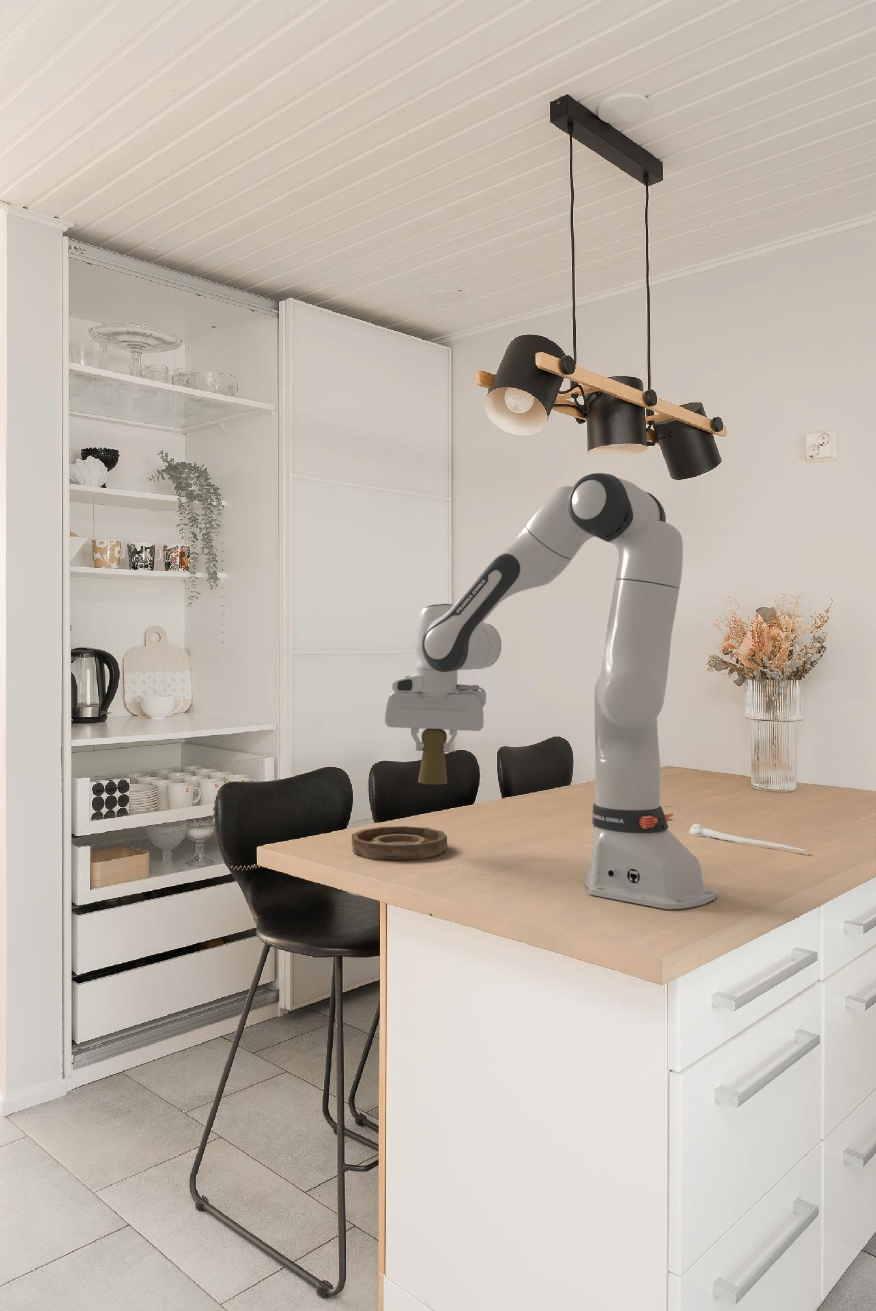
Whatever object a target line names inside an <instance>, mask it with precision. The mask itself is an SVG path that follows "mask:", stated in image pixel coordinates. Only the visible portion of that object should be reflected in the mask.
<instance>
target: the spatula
mask: <svg viewBox="0 0 876 1311" xmlns="http://www.w3.org/2000/svg"><path fill="white" fill-rule="evenodd" d="M689 834H696V835H704V836H711V837H714V838H721V839H725V840H734V841H737V842H748V843H753V844H763V845H768V846H774V847H784V848H788V849H797V850H800V851H807V850H806V849H803V848H799V847H796V846H793V845H792V846H791V845H787V844H783V843H777V842H771V841H767V840H760V839H759V840H758V839H754V838H747V837H742V836H737V835H732V834H727V833H723V832H720V831H717V830H712V829H710V828H707V827H705V826H704V825H702V824H700V823H694V824H693V825H692V826H691V828H690V829H689ZM689 834H688V835H689ZM704 836H703V837H704Z"/></svg>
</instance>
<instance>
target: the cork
mask: <svg viewBox="0 0 876 1311" xmlns="http://www.w3.org/2000/svg"><path fill="white" fill-rule="evenodd" d="M447 735H448V734H447V732H446V731H445V730H444V729H423V731H422V733H421V741H422V742H423V743H424V745H423V746H424V748H423V751H422V755H421V762H420V768H419V772H418V774H419V775H418V780H417V782H418V783H419V784H424V785H445V784H448V775H447V774H448V772H447V763H446V752H443V749H444V747H443V744H444V743H447V740H448V736H447Z"/></svg>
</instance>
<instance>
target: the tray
mask: <svg viewBox="0 0 876 1311" xmlns="http://www.w3.org/2000/svg"><path fill="white" fill-rule="evenodd" d="M351 846H352V853H353V855H356V856H358V857H361V858H365V859H369V860H375V861H376V860H377V861H391V862H394V861H395V862H396V861H398V862H403V861H404V862H405V861H418V860H419V861H421V860H426V859H433V858H436V857H439V856H441V855H443V854H444V853H445V852H446V851H447V850H446V848H447V847H448V836H447V835H446V834H445V832H444V831H443V830H442V831H441V830H438V829H433V828H430V827H421V826H406V825H401V826H400V825H399V826H397V825H396V826H379V827H371V828H365V829H361V830H359V831H356V832H354V833H352V834H351Z"/></svg>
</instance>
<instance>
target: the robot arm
mask: <svg viewBox="0 0 876 1311" xmlns="http://www.w3.org/2000/svg"><path fill="white" fill-rule="evenodd" d="M666 516H667V515H666V512H665V509H664V507H663V505H662V504H661V502H660V501H659V500H658V499H657V498H656V497H655V496H654V495H653V493H650V492H647V491H645V490H643V489H641V488H640V487H639V486H638V485H636V484H635V483H633V482H631V481H628V480H626V479H623V478H619V477H616V476H615V475H613V474H609V473H603V472H596V473H590V474H587V475H585V476H583V477H581V478H580V479H579V480H577V482H576V483H574V485H573V486H569V485H565V486H564V485H563V486H561V487H558V488H557V489H556V490H555V491H554V492H552V493H551V494H550V495H549V496H548V497H547V498H546V499H545V500H544V501H543V502H542V504H540V506H539V507H538V508H537V509H536V510H535V511H534V512H533V513H532V514H531V516H530V517H529V519H528V521H526V523H525V524H524V526H522V528H521V529H520V531H519V532H518V534H516V536H515V537H514V539H512V541H511V542H510V543H509V545H508V546H507V547H506V548H505V549H504V550H503V551H502V552H501V553H500V554H498V556H497V557H496V558H494V559H493V561H491V563H490V564H488V565H487V566H486V567H485V568H484V569H483V571H482V572H481V573H480V574H478V576H477V577H476V579H474V580H473V582H472V583H471V584H470V586H469V587H468V588H467V589H466V590H465V591H464V592H463V594H462V595H460V598H459V597H458V599H457V601H456V602H455V603H454V604H452V603H437V604H431V605H427V606H424V608H422V609H421V610H420V612H419V614H418V617H417V621H416V629H415V642H414V643H415V644H414V645H415V646H414V648H415V651H416V661H415V664H414V671H413V672H414V674H413V675H407V676H405V677H403V678H399V679H396V680H394V681H393V682H392V684H391V689H392V691H393V692H392V693H391V694H390V695H389V696H388V698H387V701H386V706H385V712H384V713H385V714H384V723H385V725H386V726H387V727H388V728H399V729H410V735H411V737H412V739H413V740H414V742H415V751H417V752H421V751H422V752H423V748H424V743H423V742H422V740H420V738H419V736H418V733H419V732H420V729H421V730H422V729H423V730H425V729H442V730H444V731H445V730H447V731H448V732H449V734H448V735H449V736H451V737H450V738H449V740H448V742H446V743H444V744H443V747H444V749H443V752H445V753H451V752H452V743H453V742H454V740H455V739H456V737H457V735H458V731H469V732H470V731H472V732H480V731H481V730H482V729H483V728H484V725H485V724H484V723H485V720H484V716H485V715H484V709H483V707H484V706H486V702H487V692H486V691H485V689H484V688H482V687H481V686H480V685H476V684H472V685H468V684H461V683H460V684H458V672H459V671H465V670H466V671H469V670H470V671H472V670H483V669H486V668H489V667H491V666H493V665H494V664H495V663H496V662H497V660H498V659H499V658H500V657H499V656H500V655H501V651H502V640H501V635H500V633H499V632H498V630H497V629H496V628H495V627H494V626H493V625H492V624H489V623H486V622H485V621H486V619H487V618H488V617H489V616H490V615H491V614H492V612H494V610H495V609H496V608H497V607H498V606H499V605H500V603H502V602H503V601H505V600H506V599H507V598H509V597H510V596H513V595H515V594H517V593H518V594H519V593H520V592H522V591H526V590H530V589H533V588H538V587H543V586H546V585H549V583H552V582H553V581H554V580H555V579H556V578H558V577H559V576H560V575H561V574H562V573H563V571H565V570H566V568H567V567H568V566H569V564H570V563H571V561H572V560H573V559H574V558H575V556H576V555H577V553H578V552H579V550H580V549H581V548H582V547H583V545H585V543H586V542H587V541H589V540H591V539H593V538H598V539H600V540H602V541H604V542H606V543H610V544H614V546H615V547H616V549H617V553H618V564H617V570H616V575H615V580H614V586H613V592H612V596H611V603H610V608H609V614H608V620H607V625H606V626H607V627H606V635H605V636H606V637H605V642H604V650H603V657H602V663H601V670H600V674H599V676H598V678H597V680H596V682H595V685H594V754H595V755H594V756H595V759H594V760H595V762H594V763H595V768H594V769H595V772H594V773H595V777H594V779H595V780H594V781H595V784H594V785H595V786H594V787H595V788H594V789H595V790H594V794H595V796H594V803H593V805H592V815H591V816H592V823H591V824H592V825H593V829H594V830H593V831H594V832H593V842H592V851H591V858H590V859H591V860H590V864H589V869H588V873H587V876H586V879H585V883H584V885H585V886H586V887H587V888H588V889H587V893H588V894H589V895H591V896H595V897H596V896H597V897H601V898H606V899H611V900H617V901H621V902H627V903H633V904H636V905H637V904H638V905H643V906H648V907H653V908H659V909H663V910H681V909H690V908H694V907H698V906H702V905H705V904H708V903H711V902H712V900H713V901H715V900H716V899H717V897H716V896H718V895H717V890H716V889H714V888H711V887H708V886H705V885H704V881H703V873H702V868H701V864H700V862H699V859H698V858H697V857H696V855H694V854H693V853H692V852H691V851H690V850H689V849H688V848H687V847H686V846H685V845H684V844H683V843H682V842H681V841H680V840H679V839H678V838H677V837H676V836H675V835H674V834H673V833H672V832H671V831H670V830H669V825H668V822H671V821H674V818H671V817H673V816H674V814H673V813H667V814H665V812H664V810H663V808H662V806H661V800H660V796H661V788H660V787H661V784H660V783H661V758H660V749H659V748H660V746H659V736H658V735H659V732H658V730H659V729H658V716H659V715H660V714H661V712H662V710H663V706H664V703H665V697H666V689H667V680H668V675H669V674H668V672H669V665H670V663H669V662H670V655H671V643H672V636H673V635H672V634H673V627H674V622H675V618H676V617H675V616H676V612H677V605H678V600H679V594H680V589H681V584H682V583H681V582H682V572H683V563H684V562H683V561H684V558H683V556H684V554H683V553H684V550H683V547H684V545H683V544H684V543H683V541H684V540H683V536H682V534H681V532H680V530H678V528H676V527H675V526H674V525H672V524H671V523H668V522H666V518H667V517H666ZM458 670H459V671H458ZM715 898H716V899H715ZM710 901H711V902H710ZM707 902H708V903H707Z"/></svg>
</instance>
